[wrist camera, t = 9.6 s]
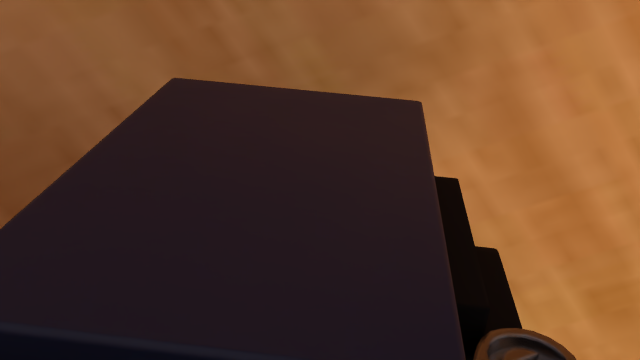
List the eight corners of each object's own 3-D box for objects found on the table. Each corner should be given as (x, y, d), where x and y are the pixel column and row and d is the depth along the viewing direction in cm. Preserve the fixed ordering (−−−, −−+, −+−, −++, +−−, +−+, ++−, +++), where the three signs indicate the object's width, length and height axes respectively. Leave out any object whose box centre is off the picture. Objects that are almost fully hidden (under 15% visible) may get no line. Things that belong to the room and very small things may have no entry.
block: (180, 281, 14) (-6, 635, 7) (171, 75, 12) (-106, 314, 5) (391, 305, 14) (397, 696, 7) (422, 100, 12) (473, 385, 5)
